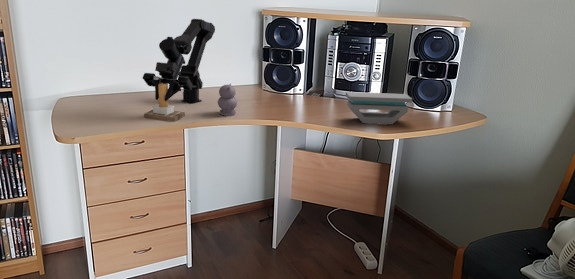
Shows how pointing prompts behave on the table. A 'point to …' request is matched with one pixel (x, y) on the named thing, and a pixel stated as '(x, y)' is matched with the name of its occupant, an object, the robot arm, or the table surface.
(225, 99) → the grey stacked rounded piece
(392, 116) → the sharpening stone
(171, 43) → the robot arm
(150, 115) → the walnut board
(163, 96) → the rubber stamp
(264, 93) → the table surface
